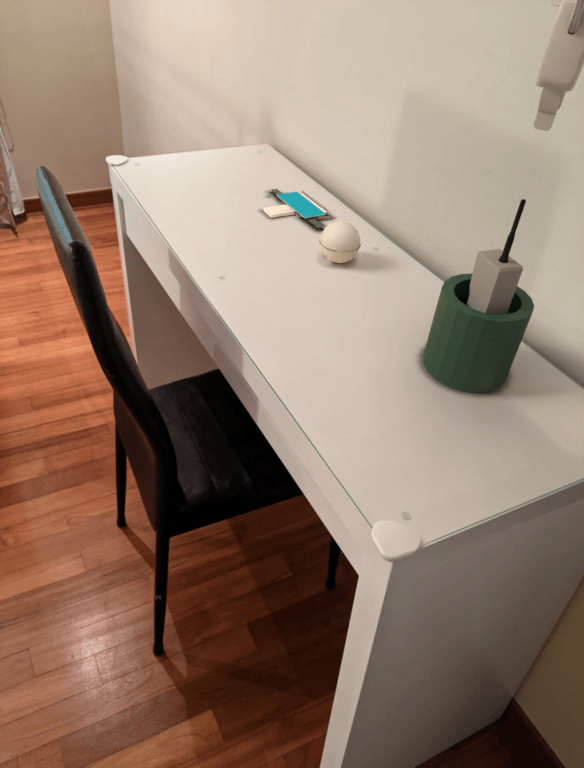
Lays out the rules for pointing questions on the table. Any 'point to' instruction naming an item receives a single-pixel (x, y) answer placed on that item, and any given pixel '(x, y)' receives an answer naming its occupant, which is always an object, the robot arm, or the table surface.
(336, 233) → the cream domed seamed part
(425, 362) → the green hollow cylinder
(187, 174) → the table surface
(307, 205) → the phone stand
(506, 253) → the vintage mobile phone
